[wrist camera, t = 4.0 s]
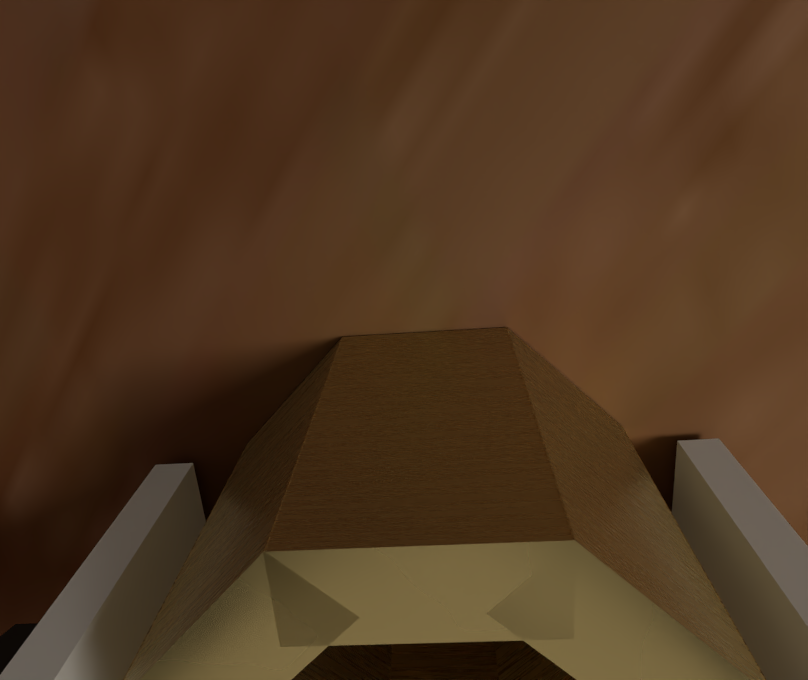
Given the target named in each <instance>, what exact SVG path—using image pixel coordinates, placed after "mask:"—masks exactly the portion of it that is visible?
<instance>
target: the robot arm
mask: <svg viewBox="0 0 808 680" xmlns="http://www.w3.org/2000/svg"><path fill="white" fill-rule="evenodd" d="M672 515H673V516H674V518H675V520H676V522H677V523H678V525H679V527H680V529H681V531H682V532H683V534H684V536H685V538H686V539H687V541H688V543H689V545H690V546H691V548H692V550H693V552H694V553H695V555H696V557H697V559H698V560H699V562H700V564H701V566H702V567H703V569H704V571H705V573H706V574H707V576H708V578H709V580H710V582H711V583H712V585H713V587H714V589H715V590H716V592H717V594H718V596H719V597H720V599H721V601H722V603H723V604H724V606H725V608H726V610H727V611H728V613H729V615H730V617H731V618H732V620H733V622H734V624H735V625H736V627H737V629H738V631H739V633H740V634H741V636H742V638H743V640H744V641H745V643H746V645H747V647H748V648H749V650H750V652H751V654H752V655H753V657H754V659H755V661H756V662H757V664H758V666H759V668H760V669H761V671H762V673H763V675H764V676H765V678H766V680H808V546H807V545H806V544H805V542H804V541H803V540H802V539H801V538H800V536H799V535H798V534H797V533H796V532H795V530H794V529H793V528H792V527H791V525H790V524H789V523H788V522H787V521H786V519H785V518H784V517H783V516H782V515H781V513H780V512H779V511H778V510H777V508H776V507H775V506H774V505H773V504H772V502H771V501H770V500H769V499H768V498H767V496H766V495H765V494H764V493H763V492H762V490H761V489H760V488H759V487H758V485H757V484H756V483H755V482H754V481H753V479H752V478H751V477H750V476H749V475H748V473H747V472H746V471H745V470H744V468H743V467H742V466H741V465H740V464H739V462H738V461H737V460H736V459H735V458H734V456H733V455H732V454H731V453H730V451H729V450H728V449H727V448H726V447H725V445H724V444H723V443H722V442H721V441H720V439H701V440H679V441H677V451H676V464H675V477H674V489H673V502H672ZM205 523H206V520H205V515H204V511H203V506H202V501H201V497H200V492H199V487H198V483H197V478H196V474H195V469H194V464H193V463H181V464H159V465H155V466H154V468H153V469H152V470H151V472H150V473H149V474H148V476H147V477H146V478H145V480H144V481H143V482H142V484H141V485H140V486H139V488H138V489H137V490H136V492H135V493H134V495H133V496H132V497H131V499H130V500H129V501H128V503H127V504H126V505H125V507H124V508H123V509H122V511H121V512H120V513H119V515H118V516H117V518H116V519H115V520H114V522H113V523H112V524H111V526H110V527H109V528H108V530H107V531H106V532H105V534H104V535H103V536H102V538H101V539H100V541H99V542H98V543H97V545H96V546H95V547H94V549H93V550H92V551H91V553H90V554H89V555H88V557H87V558H86V559H85V561H84V562H83V564H82V565H81V566H80V568H79V569H78V570H77V572H76V573H75V574H74V576H73V577H72V578H71V580H70V581H69V582H68V584H67V585H66V586H65V588H64V589H63V591H62V592H61V593H60V595H59V596H58V597H57V599H56V600H55V601H54V603H53V604H52V605H51V607H50V608H49V609H48V611H47V612H46V614H45V615H44V616H43V618H42V619H41V620H40V622H39V623H37V624H15V625H14V626H13V627H12V628H10V629H9V630H8V631H7V632H5V633H4V634H3V635H1V636H0V680H123V678H124V677H125V675H126V673H127V671H128V669H129V667H130V665H131V663H132V661H133V659H134V658H135V656H136V654H137V652H138V650H139V648H140V646H141V644H142V642H143V640H144V639H145V637H146V635H147V633H148V631H149V629H150V627H151V625H152V623H153V621H154V620H155V618H156V616H157V614H158V612H159V610H160V608H161V606H162V604H163V602H164V601H165V599H166V597H167V595H168V593H169V591H170V589H171V587H172V585H173V583H174V582H175V580H176V578H177V576H178V574H179V572H180V570H181V568H182V566H183V564H184V563H185V561H186V559H187V557H188V555H189V553H190V551H191V549H192V547H193V545H194V544H195V542H196V540H197V538H198V536H199V534H200V532H201V530H202V528H203V526H204V525H205Z"/></svg>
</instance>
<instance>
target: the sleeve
mask: <svg viewBox="0 0 808 680" xmlns="http://www.w3.org/2000/svg"><path fill="white" fill-rule="evenodd" d="M123 680H766V678H765V676H764V675H763V673H762V671H761V669H760V668H759V666H758V664H757V662H756V661H755V659H754V657H753V655H752V654H751V652H750V650H749V648H748V647H747V645H746V643H745V641H744V640H743V638H742V636H741V634H740V633H739V631H738V629H737V627H736V625H735V624H734V622H733V620H732V618H731V617H730V615H729V613H728V611H727V610H726V608H725V606H724V604H723V603H722V601H721V599H720V597H719V596H718V594H717V592H716V590H715V589H714V587H713V585H712V583H711V582H710V580H709V578H708V576H707V574H706V573H705V571H704V569H703V567H702V566H701V564H700V562H699V560H698V559H697V557H696V555H695V553H694V552H693V550H692V548H691V546H690V545H689V543H688V541H687V539H686V538H685V536H684V534H683V532H682V531H681V529H680V527H679V525H678V523H677V522H676V520H675V518H674V516H673V515H672V513H671V511H670V509H669V508H668V506H667V504H666V502H665V501H664V499H663V497H662V495H661V494H660V492H659V490H658V488H657V487H656V485H655V483H654V481H653V480H652V478H651V476H650V474H649V472H648V471H647V469H646V467H645V465H644V464H643V462H642V460H641V458H640V457H639V455H638V453H637V451H636V450H635V448H634V446H633V444H632V443H631V441H630V439H629V437H628V436H627V434H626V432H625V430H624V429H623V427H622V426H621V425H620V424H619V423H618V422H616V421H615V420H614V419H613V418H612V417H611V416H609V415H608V414H607V413H606V412H605V411H604V410H602V409H601V408H600V407H599V406H598V405H597V404H596V403H594V402H593V401H592V400H591V399H590V398H589V397H587V396H586V395H585V394H584V393H583V392H582V391H580V390H579V389H578V388H577V387H576V386H575V385H573V384H572V383H571V382H570V381H569V380H568V379H566V378H565V377H564V376H563V375H562V374H561V373H559V372H558V371H557V370H556V369H555V368H554V367H552V366H551V365H550V364H549V363H548V362H547V361H545V360H544V359H543V358H542V357H541V356H540V355H538V354H537V353H536V352H535V351H534V350H533V349H532V348H530V347H529V346H528V345H527V344H526V343H525V342H523V341H522V340H521V339H520V338H519V337H518V336H516V335H515V334H514V333H513V332H512V331H511V330H509V329H508V327H505V328H488V329H470V330H453V331H436V332H418V333H401V334H383V335H366V336H349V337H342V338H341V339H340V340H339V341H338V342H337V343H336V345H335V346H334V347H333V348H332V349H331V350H330V351H329V352H328V354H327V355H326V356H325V357H324V358H323V359H322V360H321V361H320V363H319V364H318V365H317V366H316V367H315V368H314V369H313V371H312V372H311V373H310V374H309V375H308V376H307V377H306V378H305V380H304V381H303V382H302V383H301V384H300V385H299V386H298V387H297V389H296V390H295V391H294V392H293V393H292V394H291V395H290V396H289V398H288V399H287V400H286V401H285V402H284V403H283V404H282V405H281V407H280V408H279V409H278V410H277V411H276V412H275V413H274V414H273V416H272V417H271V418H270V419H269V420H268V421H267V422H266V423H265V425H264V426H263V427H262V428H261V429H260V430H259V431H258V432H257V434H256V435H255V436H254V437H253V438H252V439H251V440H250V441H249V443H248V444H247V445H246V447H245V449H244V450H243V452H242V454H241V456H240V458H239V460H238V462H237V464H236V466H235V468H234V469H233V471H232V473H231V475H230V477H229V479H228V481H227V483H226V485H225V487H224V488H223V490H222V492H221V494H220V496H219V498H218V500H217V502H216V504H215V506H214V507H213V509H212V511H211V513H210V515H209V517H208V519H207V521H206V523H205V525H204V526H203V528H202V530H201V532H200V534H199V536H198V538H197V540H196V542H195V544H194V545H193V547H192V549H191V551H190V553H189V555H188V557H187V559H186V561H185V563H184V564H183V566H182V568H181V570H180V572H179V574H178V576H177V578H176V580H175V582H174V583H173V585H172V587H171V589H170V591H169V593H168V595H167V597H166V599H165V601H164V602H163V604H162V606H161V608H160V610H159V612H158V614H157V616H156V618H155V620H154V621H153V623H152V625H151V627H150V629H149V631H148V633H147V635H146V637H145V639H144V640H143V642H142V644H141V646H140V648H139V650H138V652H137V654H136V656H135V658H134V659H133V661H132V663H131V665H130V667H129V669H128V671H127V673H126V675H125V677H124V678H123Z"/></svg>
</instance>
